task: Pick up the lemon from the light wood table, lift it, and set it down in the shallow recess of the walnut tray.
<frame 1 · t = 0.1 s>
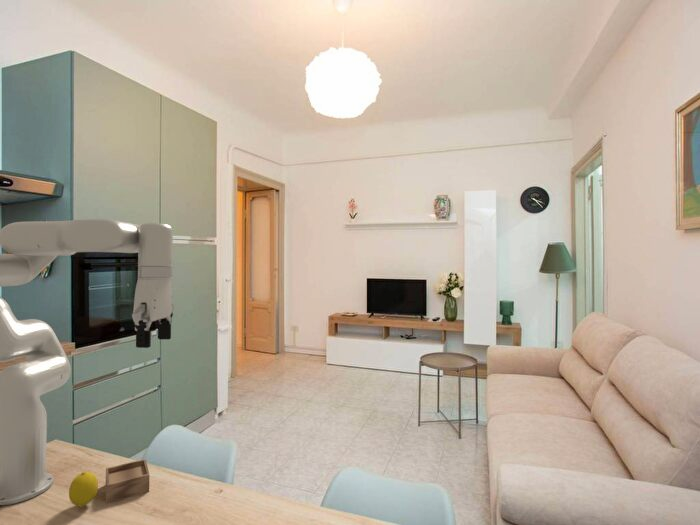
hand: (154, 343, 95), 37 cm above the table, tool pointing down, fingers open, 9 cm apart
walnut tray: (127, 488, 97), on the table
lemon: (83, 507, 90), on the table
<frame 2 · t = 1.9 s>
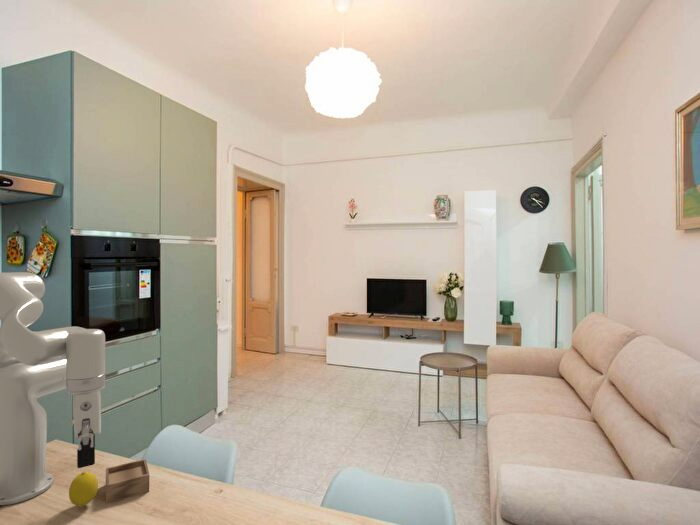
hand: (86, 457, 90), 12 cm above the table, tool pointing down, fingers open, 9 cm apart
nothing on the table moved.
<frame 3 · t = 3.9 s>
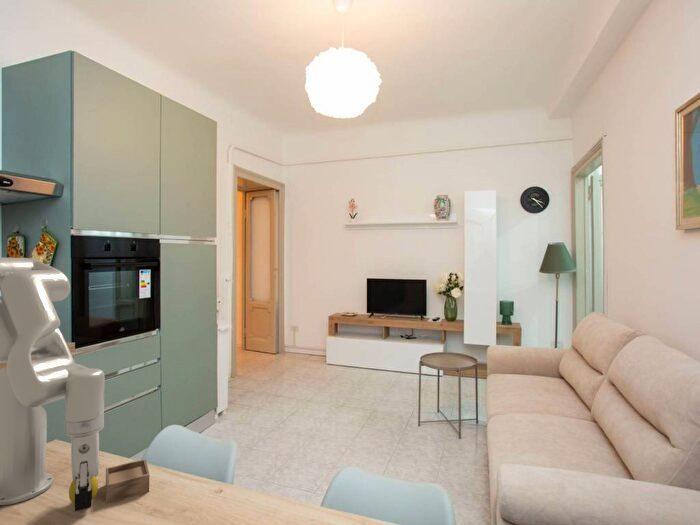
hand: (83, 500, 90), 1 cm above the table, tool pointing down, fingers closed on lemon, 5 cm apart
lemon: (83, 507, 90), on the table, touching gripper
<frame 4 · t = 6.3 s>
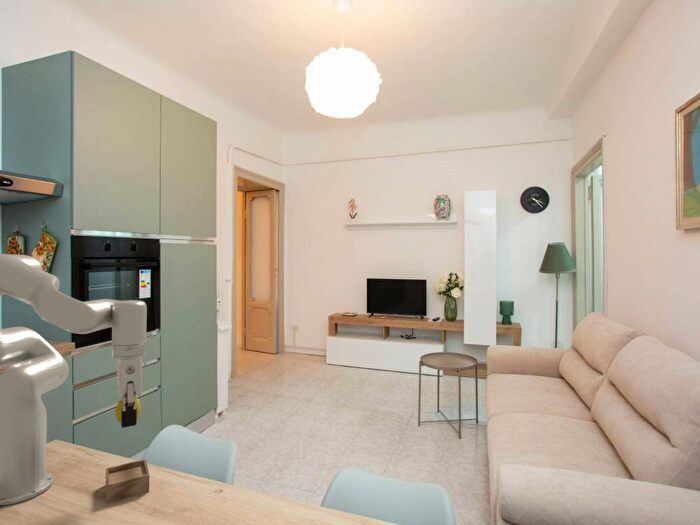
hand: (128, 420, 97), 17 cm above the table, tool pointing down, fingers closed on lemon, 5 cm apart
lemon: (128, 426, 97), point 15 cm above the table, touching gripper
when the fingers open (6 cm above the table, at t = 9.1 s): lemon drops 1 cm, resting on walnut tray.
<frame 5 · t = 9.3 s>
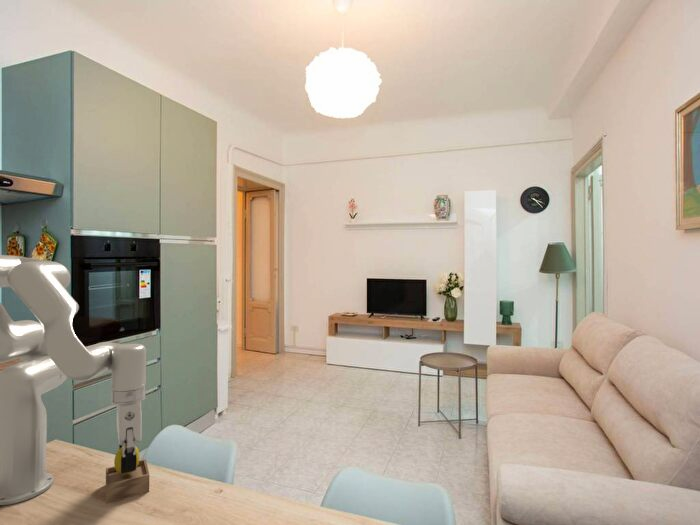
hand: (127, 463, 97), 6 cm above the table, tool pointing down, fingers open, 7 cm apart
lemon: (126, 476, 98), point 3 cm above the table, touching walnut tray
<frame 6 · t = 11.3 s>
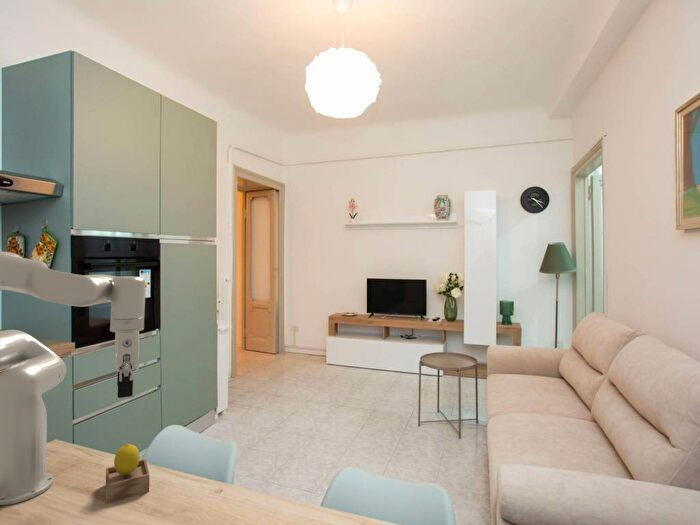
hand: (124, 390, 99), 24 cm above the table, tool pointing down, fingers open, 9 cm apart
nothing on the table moved.
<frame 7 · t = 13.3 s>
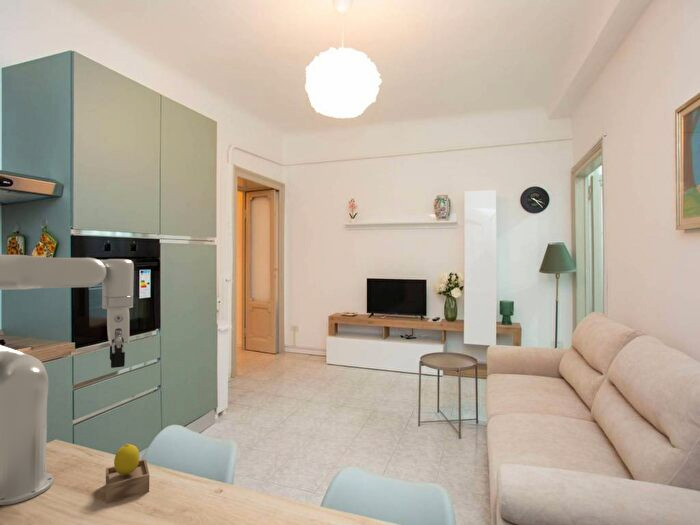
hand: (116, 363, 109), 28 cm above the table, tool pointing down, fingers open, 9 cm apart
nothing on the table moved.
at the end: lemon inside the target area on the walnut tray (0.3 cm from its centre), point 2.8 cm above the walnut tray's base; the gripper is holding nothing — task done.
